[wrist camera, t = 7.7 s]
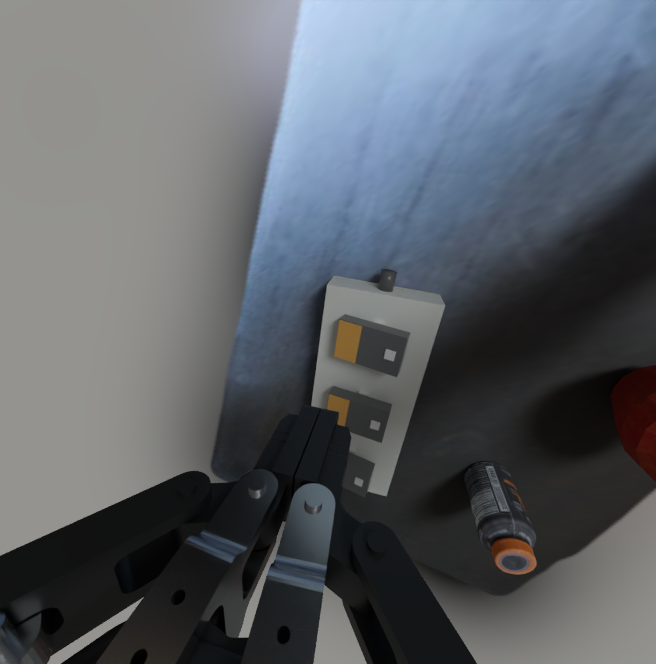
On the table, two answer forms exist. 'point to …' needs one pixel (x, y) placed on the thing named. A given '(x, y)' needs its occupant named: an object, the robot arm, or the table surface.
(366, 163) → the table surface
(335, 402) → the block
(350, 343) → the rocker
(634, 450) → the apple
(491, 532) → the pill bottle
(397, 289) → the power strip
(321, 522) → the robot arm
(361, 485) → the rocker
